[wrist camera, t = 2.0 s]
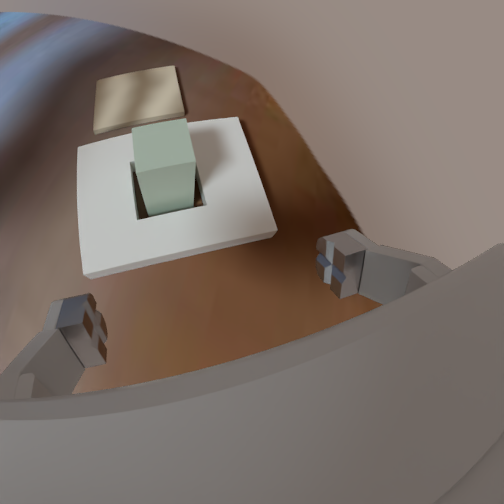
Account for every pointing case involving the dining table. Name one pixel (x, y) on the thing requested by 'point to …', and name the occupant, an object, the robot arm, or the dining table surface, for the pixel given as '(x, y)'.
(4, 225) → the dining table surface
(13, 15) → the dining table surface
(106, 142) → the holder
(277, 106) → the dining table surface
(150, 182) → the block
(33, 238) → the dining table surface
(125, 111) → the pad
